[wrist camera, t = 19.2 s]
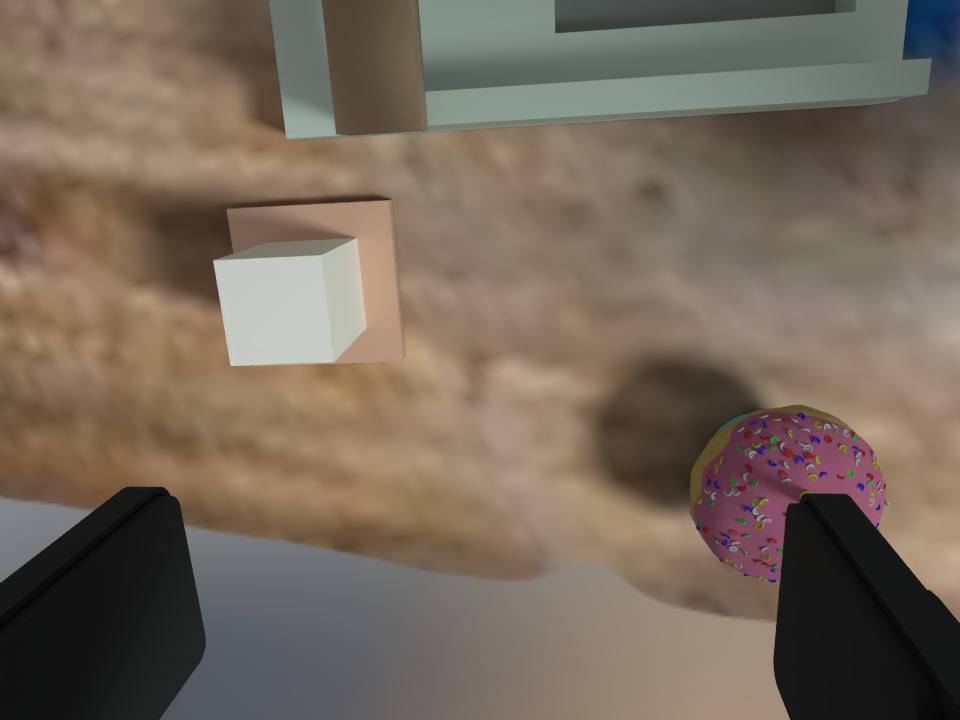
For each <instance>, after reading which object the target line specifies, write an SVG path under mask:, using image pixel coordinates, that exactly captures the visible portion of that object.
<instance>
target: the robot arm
mask: <svg viewBox="0 0 960 720" xmlns="http://www.w3.org/2000/svg"><path fill="white" fill-rule="evenodd" d="M205 645H206V638H205V631H204V626H203V621H202V616H201V610H200V605H199V600H198V595H197V590H196V585H195V580H194V575H193V569H192V564H191V559H190V554H189V549H188V544H187V539H186V533H185V528H184V523H183V518H182V513H181V508H180V504H179V501H178V500H177V498H176V497H174V496H170V493H169V492H168V491H167V489H165V488H163V487H126V488H124V489H122V490H120V491H119V492H118V493H116V494H115V495H114V496H113V497H111V498H110V499H109V500H107V501H106V502H105V503H104V504H102V505H101V506H100V507H98V508H97V509H96V510H94V511H93V512H92V513H91V514H89V515H88V516H87V517H85V518H84V519H83V520H81V521H80V522H79V523H78V524H76V525H75V526H74V527H72V528H71V529H70V530H69V531H67V532H66V533H65V534H63V535H62V536H61V537H59V539H57V540H56V541H54V542H53V543H52V544H50V545H49V546H48V547H47V548H45V549H44V550H43V551H41V552H40V553H39V554H37V555H36V556H35V557H34V558H32V559H31V560H30V561H28V562H27V563H26V564H25V565H23V566H22V567H21V568H19V569H18V570H17V571H15V572H14V573H13V574H12V575H10V576H9V577H8V578H6V579H5V580H4V581H3V582H1V583H0V720H159V719H160V718H161V716H162V715H163V714H164V712H165V711H166V709H167V708H168V707H169V705H170V703H171V702H172V701H173V700H174V698H175V697H176V695H177V694H178V692H179V691H180V690H181V688H182V687H183V685H184V684H185V683H186V681H187V680H188V678H189V677H190V676H191V674H192V673H193V671H194V670H195V668H196V667H197V666H198V664H199V663H200V661H201V659H202V657H203V654H204V650H205ZM773 664H774V674H775V679H776V684H777V687H778V690H779V692H780V695H781V697H782V700H783V702H784V705H785V707H786V710H787V713H788V715H789V718H790V720H960V623H959V622H958V621H957V619H956V618H955V617H954V616H953V615H952V613H951V612H950V611H949V610H948V609H947V607H946V606H945V605H944V604H943V602H942V601H941V600H940V599H939V598H938V597H937V596H936V595H935V594H934V593H933V592H932V591H930V590H927V589H926V588H925V587H924V586H923V585H922V583H921V582H920V581H919V580H918V578H917V577H916V576H915V575H914V574H913V572H912V571H911V570H910V569H909V567H908V566H907V565H906V564H905V563H904V561H903V560H902V559H901V558H900V556H899V555H898V554H897V553H896V552H895V550H894V549H893V548H892V547H891V545H890V544H889V543H888V542H887V541H886V539H885V538H884V537H883V536H882V534H881V533H880V532H879V531H878V530H877V528H876V527H875V526H874V525H873V523H872V522H871V521H870V520H869V519H868V517H867V516H866V515H865V514H864V512H863V511H862V510H861V509H860V508H859V506H858V505H857V504H856V503H855V501H854V500H853V499H852V498H851V497H850V496H849V495H848V494H830V493H804V494H803V495H802V496H801V499H800V502H799V503H790V504H789V505H788V507H787V510H786V519H785V530H784V542H783V554H782V565H781V577H780V588H779V600H778V612H777V623H776V635H775V648H774V661H773Z"/></svg>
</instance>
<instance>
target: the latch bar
mask: <svg viewBox="0 0 960 720" xmlns="http://www.w3.org/2000/svg"><path fill="white" fill-rule="evenodd" d="M322 10H323V19H324V28H325V37H326V46H327V56H328V65H329V74H330V83H331V92H332V102H333V111H334V120H335V129H336V134H337V135H348V136H354V135H371V134H387V133H403V132H419V131H428V125H427V111H426V98H425V84H424V70H423V56H422V43H421V29H420V15H419V2H418V0H322Z"/></svg>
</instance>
